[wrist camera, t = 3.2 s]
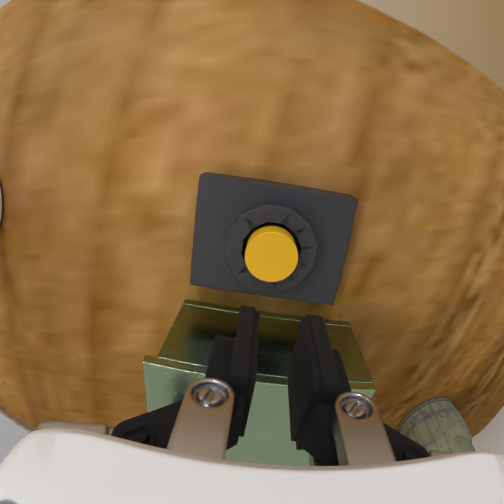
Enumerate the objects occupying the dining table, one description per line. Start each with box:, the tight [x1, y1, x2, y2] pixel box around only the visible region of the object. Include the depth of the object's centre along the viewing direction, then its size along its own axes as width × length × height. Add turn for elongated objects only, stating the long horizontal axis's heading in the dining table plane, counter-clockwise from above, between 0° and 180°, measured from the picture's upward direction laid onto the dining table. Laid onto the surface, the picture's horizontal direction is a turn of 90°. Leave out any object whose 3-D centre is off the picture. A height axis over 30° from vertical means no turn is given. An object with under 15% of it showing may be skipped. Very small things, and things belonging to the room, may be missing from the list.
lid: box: [143, 355, 376, 466], centre depth 20 cm, size 16×14×5 cm
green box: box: [157, 300, 373, 383], centre depth 26 cm, size 16×14×9 cm
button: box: [245, 225, 298, 282], centre depth 22 cm, size 4×4×2 cm
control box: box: [190, 172, 358, 305], centre depth 24 cm, size 12×9×4 cm
